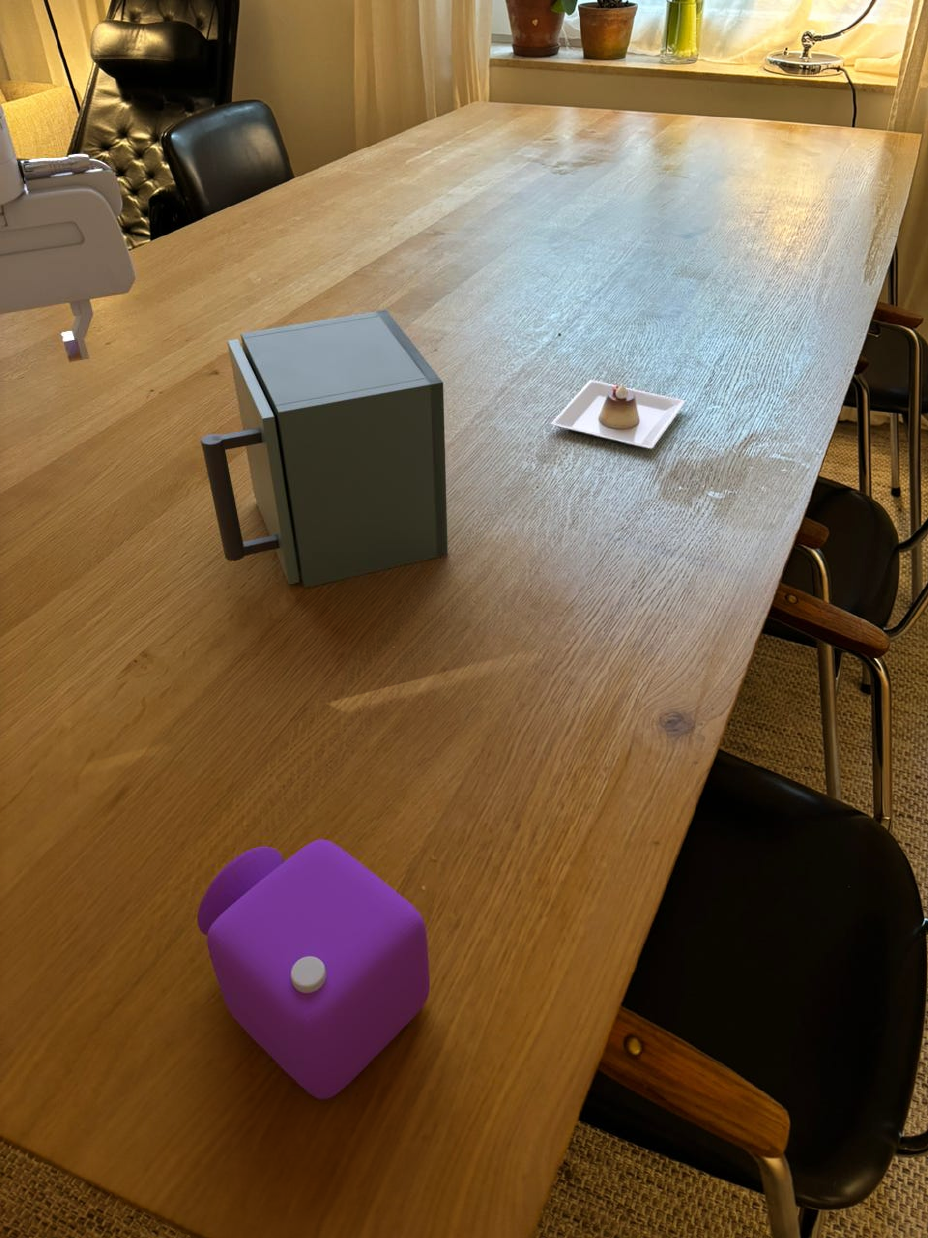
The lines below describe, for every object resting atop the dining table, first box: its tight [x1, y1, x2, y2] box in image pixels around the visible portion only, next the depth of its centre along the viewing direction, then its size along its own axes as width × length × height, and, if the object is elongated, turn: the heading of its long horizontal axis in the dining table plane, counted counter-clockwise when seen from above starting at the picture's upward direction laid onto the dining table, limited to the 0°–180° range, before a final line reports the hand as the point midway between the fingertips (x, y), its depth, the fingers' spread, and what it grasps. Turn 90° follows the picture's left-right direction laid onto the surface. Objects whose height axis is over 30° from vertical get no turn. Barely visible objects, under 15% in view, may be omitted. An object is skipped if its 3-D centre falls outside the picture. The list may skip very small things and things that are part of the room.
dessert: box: [550, 379, 687, 450], centre depth 112 cm, size 12×12×5 cm
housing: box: [240, 309, 449, 589], centre depth 93 cm, size 14×16×18 cm
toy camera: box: [197, 838, 431, 1100], centre depth 57 cm, size 11×14×10 cm
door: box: [200, 338, 300, 585], centre depth 90 cm, size 6×16×17 cm, turn 21°
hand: (12, 370), depth 73 cm, fingers open, 8 cm apart
